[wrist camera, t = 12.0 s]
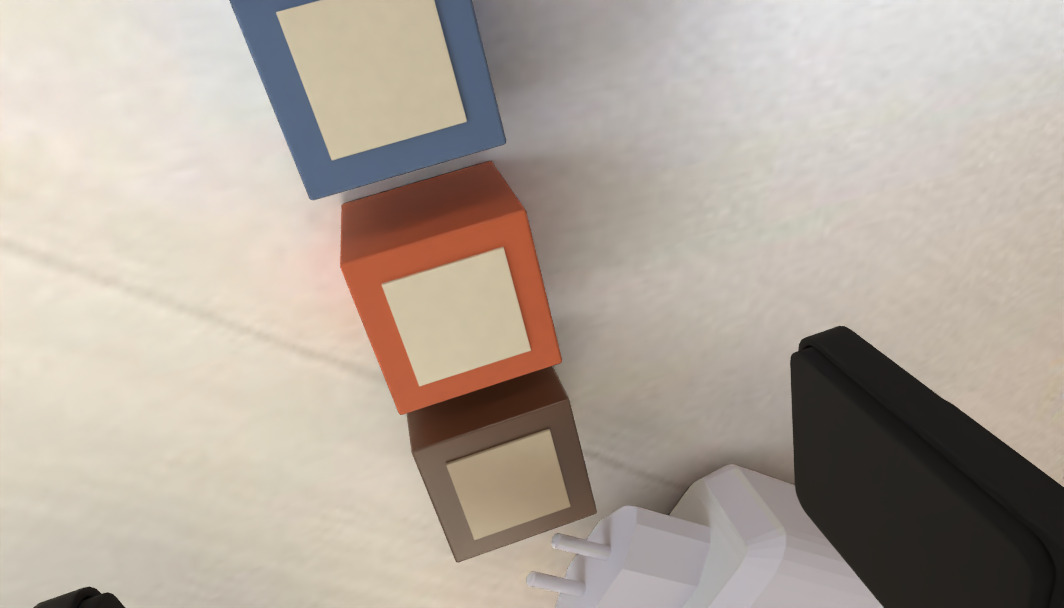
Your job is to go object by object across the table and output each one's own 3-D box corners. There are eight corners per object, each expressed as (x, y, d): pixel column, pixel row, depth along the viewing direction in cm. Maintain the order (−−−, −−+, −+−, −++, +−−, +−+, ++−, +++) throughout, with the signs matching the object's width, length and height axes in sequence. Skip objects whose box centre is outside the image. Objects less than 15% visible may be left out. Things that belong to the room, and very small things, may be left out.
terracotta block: (340, 203, 19) (338, 266, 15) (491, 159, 19) (526, 210, 15) (390, 334, 21) (399, 418, 17) (526, 292, 21) (564, 364, 17)
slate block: (249, -27, 16) (219, -20, 12) (428, -72, 16) (453, -80, 12) (318, 151, 18) (310, 203, 14) (475, 106, 18) (508, 145, 14)
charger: (588, 404, 23) (880, 505, 29) (466, 599, 26) (756, 655, 32) (640, 500, 19) (967, 595, 25) (489, 720, 22) (816, 758, 28)
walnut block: (400, 365, 21) (411, 453, 17) (531, 323, 21) (570, 400, 18) (439, 467, 23) (456, 566, 19) (558, 427, 24) (598, 516, 20)
